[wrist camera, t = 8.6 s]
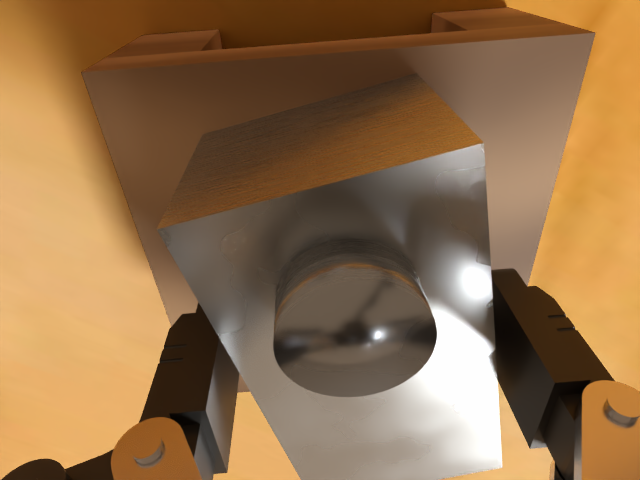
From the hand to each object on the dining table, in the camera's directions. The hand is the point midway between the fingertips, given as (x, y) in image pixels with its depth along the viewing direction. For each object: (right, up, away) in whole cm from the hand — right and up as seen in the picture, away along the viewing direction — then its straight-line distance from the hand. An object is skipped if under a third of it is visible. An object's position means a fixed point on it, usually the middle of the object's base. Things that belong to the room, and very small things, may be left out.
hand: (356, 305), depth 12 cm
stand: (0, +4, +6) cm, 7 cm away
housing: (0, +1, +2) cm, 2 cm away
